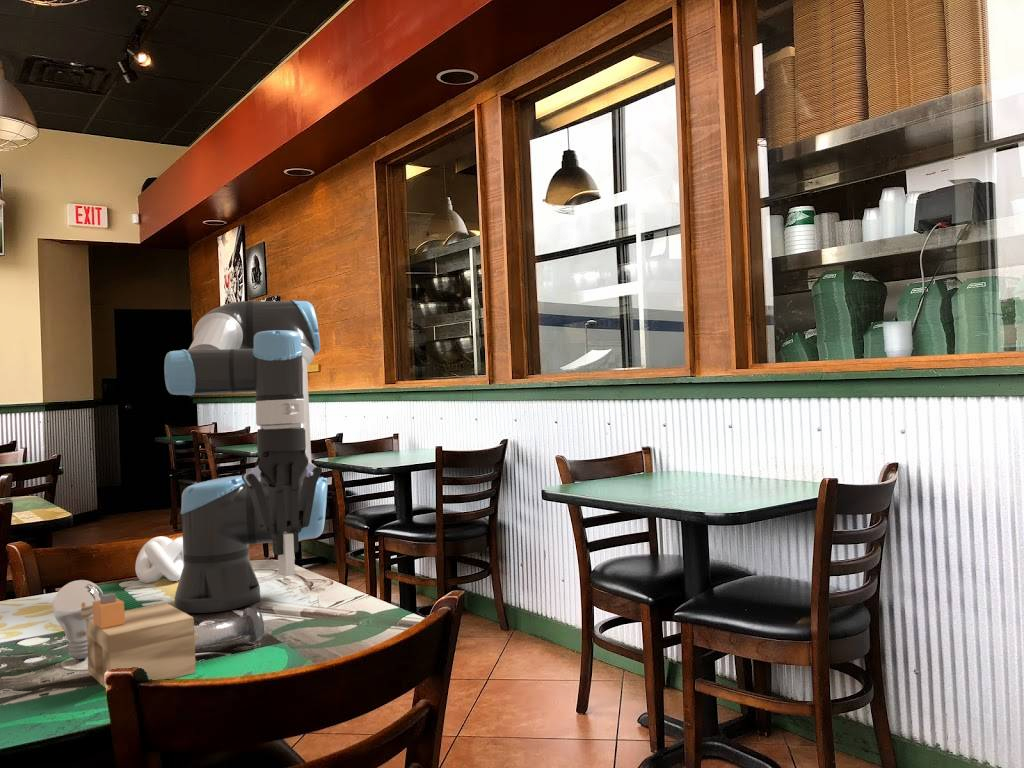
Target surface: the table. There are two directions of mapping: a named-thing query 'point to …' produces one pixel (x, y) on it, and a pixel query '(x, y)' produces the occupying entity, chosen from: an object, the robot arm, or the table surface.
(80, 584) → the light bulb
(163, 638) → the block
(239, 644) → the table surface
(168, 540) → the white knot sculpture
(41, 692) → the table surface
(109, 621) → the bar
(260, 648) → the table surface
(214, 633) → the pin
